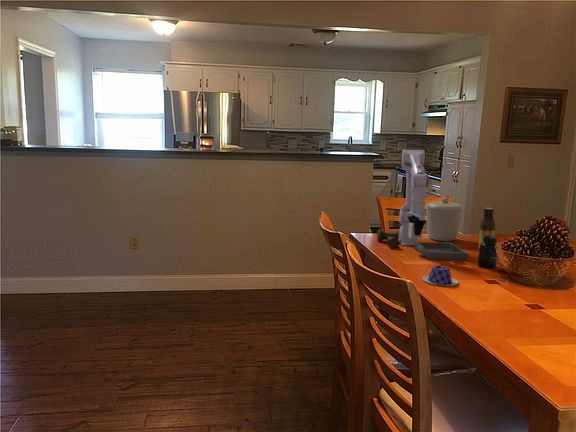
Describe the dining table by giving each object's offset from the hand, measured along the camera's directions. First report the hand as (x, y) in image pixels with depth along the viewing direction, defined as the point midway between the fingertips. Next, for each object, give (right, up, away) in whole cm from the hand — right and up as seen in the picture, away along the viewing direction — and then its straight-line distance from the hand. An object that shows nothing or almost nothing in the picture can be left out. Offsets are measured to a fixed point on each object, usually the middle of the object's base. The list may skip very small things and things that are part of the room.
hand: (415, 233), depth 194 cm
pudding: (-2, -16, -36) cm, 39 cm away
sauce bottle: (+32, -9, +6) cm, 34 cm away
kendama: (-7, -6, +18) cm, 20 cm away
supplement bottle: (+23, -12, -16) cm, 31 cm away
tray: (+11, -9, +1) cm, 14 cm away
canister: (+21, -4, +30) cm, 37 cm away
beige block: (0, -2, 0) cm, 2 cm away
